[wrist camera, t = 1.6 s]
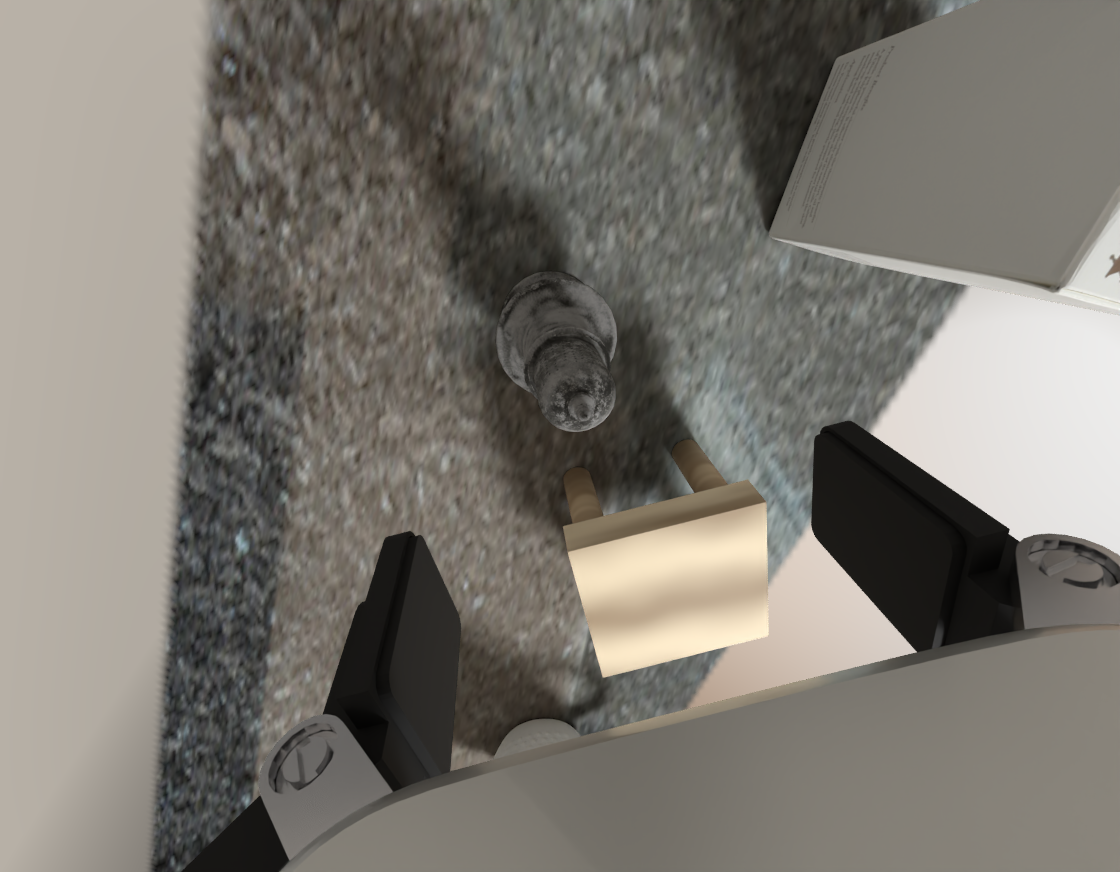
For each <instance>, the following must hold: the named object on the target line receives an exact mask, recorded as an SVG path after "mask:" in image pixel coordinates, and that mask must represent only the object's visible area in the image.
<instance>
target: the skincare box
mask: <svg viewBox="0 0 1120 872" xmlns="http://www.w3.org/2000/svg"><path fill="white" fill-rule="evenodd" d="M769 235H770V237H771V238H773V239H776V240H779V241H782V242H786V243H789V244H792V245H795V246H799V247H802V248H805V249H809V250H812V251H815V252H819V253H822V254H826V255H830V256H834V257H837V258H841V259H845V260H849V261H854V262H858V263H863V264H867V265H872V266H876V267H881V268H886V269H891V270H895V271H900V272H905V273H910V274H915V275H919V276H924V277H929V278H934V279H939V280H944V281H949V282H954V283H959V284H965V285H970V286H975V287H980V288H985V289H990V290H995V291H1000V292H1005V293H1010V294H1015V295H1020V296H1025V297H1030V298H1035V299H1040V300H1045V301H1050V302H1055V303H1061V304H1065V305H1071V306H1076V307H1080V308H1085V309H1090V310H1096V311H1101V312H1105V313H1111V314H1115V315H1120V0H980V1H977V2H975V3H972V4H970V5H967V6H965V7H962V8H960V9H957V10H955V11H952V12H950V13H947V14H945V15H942V16H940V17H937V18H935V19H932V20H930V21H927V22H925V23H922V24H920V25H917V26H915V27H912V28H910V29H907V30H905V31H902V32H900V33H897V34H895V35H892V36H889V37H887V38H884V39H882V40H879V41H877V42H874V43H872V44H869V45H867V46H865V47H862V48H860V49H857V50H855V51H852V52H850V53H847V54H845V55H842V56H840V57H838V58H837V59H836V60H835V63H834V65H833V68H832V71H831V73H830V76H829V78H828V81H827V83H826V86H825V89H824V91H823V94H822V96H821V99H820V101H819V104H818V106H817V109H816V112H815V114H814V117H813V119H812V122H811V124H810V127H809V130H808V132H807V135H806V137H805V140H804V142H803V145H802V148H801V150H800V153H799V155H798V158H797V161H796V163H795V166H794V168H793V171H792V173H791V176H790V179H789V181H788V184H787V187H786V189H785V192H784V195H783V197H782V200H781V202H780V205H779V208H778V210H777V213H776V215H775V218H774V221H773V223H772V226H771V229H770V231H769Z"/></svg>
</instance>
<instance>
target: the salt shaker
mask: <svg viewBox="0 0 1120 872" xmlns="http://www.w3.org/2000/svg"><path fill="white" fill-rule="evenodd" d="M495 343H496V349H497V354H498V358H499V360H500V363H501V365H502V367H503V369H504V371H505V372H506V373H507V374H508V376H509V377H510V378H511V379H512V380H513V381H514V383H516V384H517V385H519V386H520V387H522V388H523V389H525V390H526V391H528V392H531V393H532V394H533V395H534V396H535V397H536V399H538V402H539V407H540V409H541V411H542V413H543V415H544V416H545V417H546V418H547V420H548V421H549V422H550V423H551V424H553V425H554V426H556V427H557V428H559V429H562V430H565V431H572V432H579V431H586V430H589V429H591V428H594V427H596V426H597V425H599V424H600V423H602V422H603V421H604V420H605V419H606V418H607V417H608V416H609V414H610V413H611V411H612V409H613V407H614V403H615V399H616V388H615V383H614V380H613V377H612V375H611V374H610V369H611V365H610V362H611V360H612V358H613V356H614V352H615V348H616V343H617V331H616V323H615V320H614V317H613V314H612V311H611V309H610V308H609V306H608V305H607V303H606V302H605V300H604V299H603V297H602V296H601V295H599V294H598V293H597V292H596V291H595V290H593V289H592V288H591V287H590V286H588V285H585V284H583V283H581V282H580V281H578V280H577V279H576V278H574V277H572V276H570V275H568V274H565V273H562V272H555V271H546V272H538V273H535V274H533V275H531V276H528V277H526V278H524V279H523V280H522V281H520V282H519V283H518V284H517V285H515V286H514V288H513V289H512V290H511V292H510V293H509V294H508V296H507V297H506V300H505V303H504V305H503V308H502V313H501V316H500V318H499V321H498V324H497V329H496V339H495Z"/></svg>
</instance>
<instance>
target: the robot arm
mask: <svg viewBox="0 0 1120 872" xmlns="http://www.w3.org/2000/svg"><path fill="white" fill-rule="evenodd" d="M811 525H812V530H813V533H814V535H815V537H816V538H817V539H818V541H819V542H820V543H821V544H822V545H823V547H824V548H825V549H826V550H827V551H828V552H829V553H830V555H831V556H832V557H833V558H834V559H835V560H836V561H837V562H838V564H839V565H840V566H841V567H842V568H843V569H844V570H845V571H846V573H847V574H848V575H849V576H850V577H851V578H852V579H853V580H854V582H855V583H856V584H857V585H858V586H859V587H860V588H861V589H862V591H863V592H864V593H865V594H866V595H867V596H868V597H869V598H870V600H871V601H872V602H873V603H874V604H875V605H876V606H877V608H878V609H879V610H880V611H881V612H882V613H883V614H884V615H885V617H886V618H888V620H889V621H890V622H891V623H892V624H893V626H894V627H895V628H896V629H897V630H898V631H899V632H900V633H901V635H902V636H903V637H904V638H905V639H906V640H907V641H908V642H909V644H910V645H911V646H912V647H913V648H914V649H915V650H916V651H917V653H913V654H908V655H904V656H900V657H896V658H892V659H888V660H884V661H880V662H875V663H871V664H868V665H863V666H859V667H855V668H851V669H847V670H843V671H839V672H835V673H831V674H827V675H823V676H818V677H814V678H811V679H806V680H802V681H798V682H794V683H790V684H786V685H782V686H778V687H774V688H770V689H766V690H762V691H758V692H754V693H750V694H746V695H742V696H738V697H734V698H730V699H726V700H722V701H718V702H714V703H710V704H706V705H702V706H698V707H694V708H690V709H686V710H682V711H678V712H674V713H671V714H667V715H663V716H659V717H655V718H651V719H647V720H643V721H639V722H635V723H631V724H627V725H623V726H620V727H616V728H612V729H608V730H604V731H600V732H596V733H592V734H588V735H585V736H581V737H577V738H573V739H569V740H565V741H561V742H557V743H554V744H550V745H546V746H542V747H538V748H534V749H530V750H526V751H523V752H519V753H516V754H512V755H508V756H505V757H501V758H497V759H494V760H490V761H487V762H483V763H479V764H476V765H472V766H469V767H465V768H461V769H458V770H454V771H451V772H450V766H451V753H452V740H453V726H454V713H455V700H456V687H457V674H458V661H459V647H460V634H461V623H460V618H459V614H458V612H457V610H456V608H455V605H454V603H453V601H452V599H451V597H450V594H449V592H448V590H447V588H446V586H445V584H444V581H443V579H442V577H441V575H440V573H439V571H438V568H437V566H436V564H435V562H434V560H433V558H432V555H431V553H430V551H429V549H428V547H427V545H426V542H425V540H424V538H423V537H422V536H421V535H418V536H415V535H414V534H413V533H412V532H411V531H408V532H404V533H401V534H397V535H393V536H389V537H386V538H385V540H384V542H383V546H382V549H381V552H380V555H379V559H378V562H377V565H376V568H375V572H374V575H373V578H372V582H371V585H370V588H369V591H368V595H367V598H366V601H365V602H362V603H361V604H360V605H359V606H358V608H357V610H356V612H355V615H354V618H353V621H352V625H351V628H350V631H349V634H348V637H347V640H346V643H345V646H344V650H343V653H342V656H341V659H340V662H339V665H338V668H337V671H336V674H335V678H334V681H333V684H332V687H331V690H330V693H329V696H328V699H327V703H326V706H325V709H324V712H323V715H318V716H313V717H311V718H309V719H307V720H304V721H302V722H301V723H299V724H298V725H296V726H295V727H293V728H292V729H291V730H289V731H288V732H287V733H286V734H285V735H284V736H283V737H282V738H281V739H280V740H279V741H278V742H277V743H276V745H275V746H274V747H273V749H272V750H271V752H270V753H269V754H268V756H267V758H266V760H265V762H264V764H263V766H262V768H261V771H260V777H259V782H258V785H259V791H260V796H259V797H258V798H257V799H256V800H255V801H254V802H253V803H252V804H251V805H250V806H249V807H248V808H247V809H246V810H245V811H243V812H242V813H241V814H240V815H239V816H238V817H237V818H236V819H235V820H234V821H233V822H232V823H231V824H230V825H229V826H228V827H227V828H226V829H225V830H224V831H223V832H222V833H221V834H220V835H219V836H218V837H217V838H216V839H215V840H214V841H213V842H211V843H210V844H209V845H208V846H207V847H206V848H205V849H204V850H203V851H202V852H201V853H200V854H199V855H198V856H197V857H196V858H195V859H194V860H193V861H192V862H191V863H190V864H189V865H188V866H187V867H186V868H185V869H184V870H183V871H182V872H1120V556H1119V555H1118V554H1116V553H1114V552H1112V551H1111V550H1109V549H1107V548H1105V547H1103V546H1101V545H1099V544H1096V543H1093V542H1090V541H1088V540H1085V539H1081V538H1077V537H1072V536H1068V535H1059V534H1039V535H1033V536H1030V537H1027V538H1024V539H1023V540H1022V541H1020V542H1019V541H1018V540H1016V539H1015V538H1014V537H1012V536H1011V535H1009V534H1008V533H1009V528H1007V527H1006V526H1004V525H1003V524H1001V523H1000V522H998V521H997V520H995V519H994V518H993V517H991V516H990V515H988V514H987V513H985V512H984V511H982V510H981V509H979V508H978V507H976V506H975V505H973V504H972V503H971V502H969V501H968V500H966V499H965V498H963V497H962V496H960V495H959V494H958V493H956V492H955V491H953V490H952V489H950V488H949V487H947V486H946V485H944V484H943V483H941V482H940V481H939V480H937V479H936V478H934V477H932V476H931V475H930V474H928V473H927V472H925V471H924V470H923V469H921V468H920V467H918V466H917V465H915V464H914V463H912V462H910V461H909V460H908V459H906V458H905V457H903V456H902V455H901V454H899V453H898V452H896V451H895V450H893V449H892V448H890V447H889V446H888V445H886V444H884V443H883V442H882V441H880V440H879V439H877V438H876V437H874V436H873V435H871V434H870V433H869V432H867V431H866V430H864V429H863V428H861V427H860V426H858V425H857V424H855V423H854V422H852V421H845V422H841V423H837V424H833V425H829V426H825V427H823V428H822V430H821V431H820V434H819V435H817V436H816V437H815V440H814V463H813V492H812V520H811Z"/></svg>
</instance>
